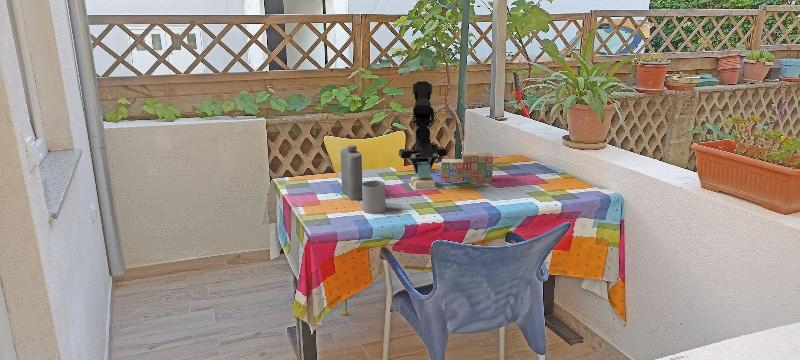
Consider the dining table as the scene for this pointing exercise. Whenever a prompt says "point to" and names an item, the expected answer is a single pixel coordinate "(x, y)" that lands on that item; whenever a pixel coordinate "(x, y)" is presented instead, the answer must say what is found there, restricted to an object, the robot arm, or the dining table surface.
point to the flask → (351, 172)
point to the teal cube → (423, 169)
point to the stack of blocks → (469, 168)
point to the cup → (373, 197)
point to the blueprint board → (409, 188)
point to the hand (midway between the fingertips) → (422, 173)
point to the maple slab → (422, 182)
